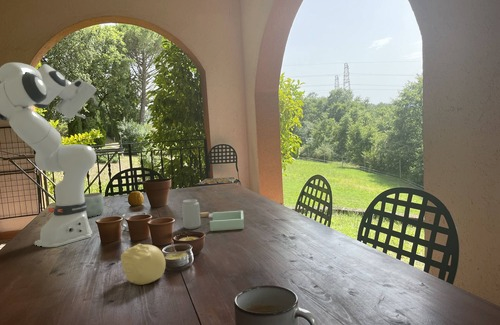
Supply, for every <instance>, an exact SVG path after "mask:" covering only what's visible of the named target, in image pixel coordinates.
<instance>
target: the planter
mask: <svg viewBox="0 0 500 325" xmlns="http://www.w3.org/2000/svg"><path fill="white" fill-rule="evenodd" d="M84 198H85V202H86V206H87V211H86V213H87V218H93V217H98V216H101V215H102V214H103V213H104V210H105V207H104V193H103V192H90V193H84ZM97 215H98V216H97ZM92 216H93V217H92Z"/></svg>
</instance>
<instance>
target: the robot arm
mask: <svg viewBox="0 0 500 325" xmlns="http://www.w3.org/2000/svg"><path fill="white" fill-rule="evenodd" d="M96 92H97V88H96V87H95V86H94V85H92V84H91V83H89V82H87V81H84V80H83V79H81V78H77V79H75V80H73V81H70V80H69V79H67V78H66V77H65V75H63V74H62V73H61V72H60V71H58V70H56V69H55V68H53V67H52V66H50V65H49V64H47V63H43V64H41V65H40V66H39V67H38V68H36V67H34V66H32V65H30V64H27V63H23V62H17V61H16V62H7V63H4V64H3V65H1V66H0V120H1V121H8V124H9V126H10V127H11V129H12V130H13V131H14V133H15V134H16V135H17V136H18V137H19V138H20V140H22V141H23V142H25V144H27V145H28V146H29V147H30V148H31V149H32V150H34V152H36V153H35V155H34V164H35V165H36V167H37V169H39V170H41V171H46V172H51V173H52V172H53V173H54V172H57V173H58V172H63V174H64V176H63V178H62V179H61V181H59V182H58V183H57V184H56V185H55V187H54V193H55V202H56V203H55V207H47V208H48V209H47V212H48V213H53V214H52V217H51V218H49V220H48V221H47V222H45V224H44V225H43V226H42V227H41V228H40V235H39V236H40V238H39V239H37V240H35V241H34V245H35V246H36V245H37V247H40V246H42V248H57V247H61V246H64V245H68V244H71V243H75V242H79V241H81V240H85V239H89V238H91V236H92V234H93V231H92V229H91V226H90V222H89V219H88V218H89V217H87V213H86V211H87V206H86V202H85V198H84V194H85V179H86V178H87V177H86V176H87V174H88V172H89V171H90V170H91V169H92V168H93V167H94V165H95V164H96V162H97V153H96V150H95V149H94V148H93V147H91V146H90V145H85V144H80V143H79V144H62V136H61V134H60V132H59V131H58V130H57V129H56V128H55V127H54V126H53V125H52V124H51V123H50V122H49V121H47V119H46V118H45V117H43V116H42V115H40V114H39V113H38V112H36V111H34V110H33V109H31V107H35V108H37V109H39V110H40V109H47V108H48V107H49V106H50V104H51V103H52V102H53V100H55V99H56V98H57V96H58V97H59V98H60V100H59V101H58V102H57V104H55V110H56V111H57V112H58V113H59V114H62V115H64V116H65V117H66V118H67V119H69V120H71V119H73V118H74V117H75V116H76V117H80V118H82V119H86V118H87V116H86V115H85V114H79V113H78V112H79V111H80V110H81V109H82V107H84V105H85V104H86V103H87V102H88V101H90V99H93V103H94V105H95V106H96V105H98V104H99V101H97V98H96V96H95V93H96Z"/></svg>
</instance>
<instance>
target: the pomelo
mask: <svg viewBox="0 0 500 325" xmlns="http://www.w3.org/2000/svg"><path fill="white" fill-rule="evenodd" d="M165 257H166V256H165V255H164V254H163V251H162V250H161V249H160V248H159V247H157V246H155V245H152V244H142V243H137V244H135V245H133V246H132V247H127V249H125V251H124V252H122V253H121V254H120V261H121V266H122V269H123V271H124V272H125V273H124V274H125V277H126V279H127V281H129V282H130V283H132V284H134V285H141V286H143V285H147V284H150V283H154V282H155V281H157V280H159V279H160V278H161V277H162V276H164V273H165V270H166V264H167V263H166V262H167V261H166V258H165Z"/></svg>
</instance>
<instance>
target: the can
mask: <svg viewBox="0 0 500 325" xmlns="http://www.w3.org/2000/svg"><path fill="white" fill-rule="evenodd" d="M181 213H182V214H181V215H182V226H183V228H184V229H186V230H194V229H199V227H200V226H201V217H200V213H201V211H200V202H198V199H196V198H194V199H193V198H191V199H190V198H189V199H185V200H182V203H181Z"/></svg>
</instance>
